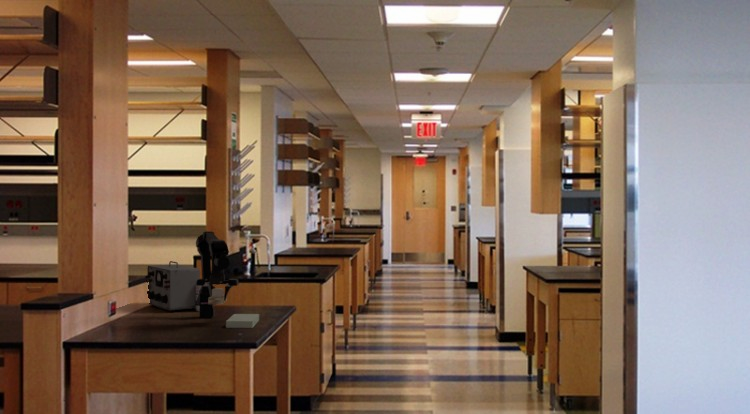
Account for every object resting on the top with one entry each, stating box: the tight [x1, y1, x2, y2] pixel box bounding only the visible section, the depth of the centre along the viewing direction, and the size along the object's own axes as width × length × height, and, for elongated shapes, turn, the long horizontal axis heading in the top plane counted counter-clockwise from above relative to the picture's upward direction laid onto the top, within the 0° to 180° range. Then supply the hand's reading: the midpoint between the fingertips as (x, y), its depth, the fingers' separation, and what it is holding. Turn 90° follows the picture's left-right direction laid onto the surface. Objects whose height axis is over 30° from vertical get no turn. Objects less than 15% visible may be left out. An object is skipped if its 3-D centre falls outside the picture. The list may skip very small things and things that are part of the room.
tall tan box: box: [208, 294, 228, 305], centre depth 350 cm, size 6×11×3 cm, turn 1°
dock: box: [225, 313, 260, 329], centre depth 350 cm, size 12×22×3 cm, turn 1°
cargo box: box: [212, 287, 224, 297], centre depth 350 cm, size 4×4×4 cm
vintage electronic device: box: [144, 260, 201, 313], centre depth 399 cm, size 32×18×25 cm, turn 37°
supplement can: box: [195, 285, 208, 313], centre depth 391 cm, size 8×8×15 cm
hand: (217, 300), depth 350 cm, fingers closed on tall tan box, 6 cm apart
